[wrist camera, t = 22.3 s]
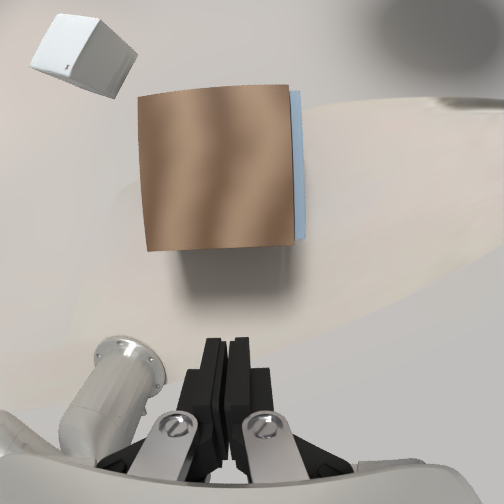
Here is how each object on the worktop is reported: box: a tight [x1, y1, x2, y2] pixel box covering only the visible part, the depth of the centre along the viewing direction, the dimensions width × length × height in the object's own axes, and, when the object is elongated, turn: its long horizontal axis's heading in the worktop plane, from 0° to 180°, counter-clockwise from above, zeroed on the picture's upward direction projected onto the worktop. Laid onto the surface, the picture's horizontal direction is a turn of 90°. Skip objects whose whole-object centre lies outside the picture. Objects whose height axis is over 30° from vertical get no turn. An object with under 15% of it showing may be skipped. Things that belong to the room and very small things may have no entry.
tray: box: [289, 91, 305, 239], centre depth 32 cm, size 14×15×9 cm
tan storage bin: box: [138, 85, 294, 252], centre depth 32 cm, size 14×15×12 cm
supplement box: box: [29, 14, 138, 99], centre depth 28 cm, size 7×7×13 cm
